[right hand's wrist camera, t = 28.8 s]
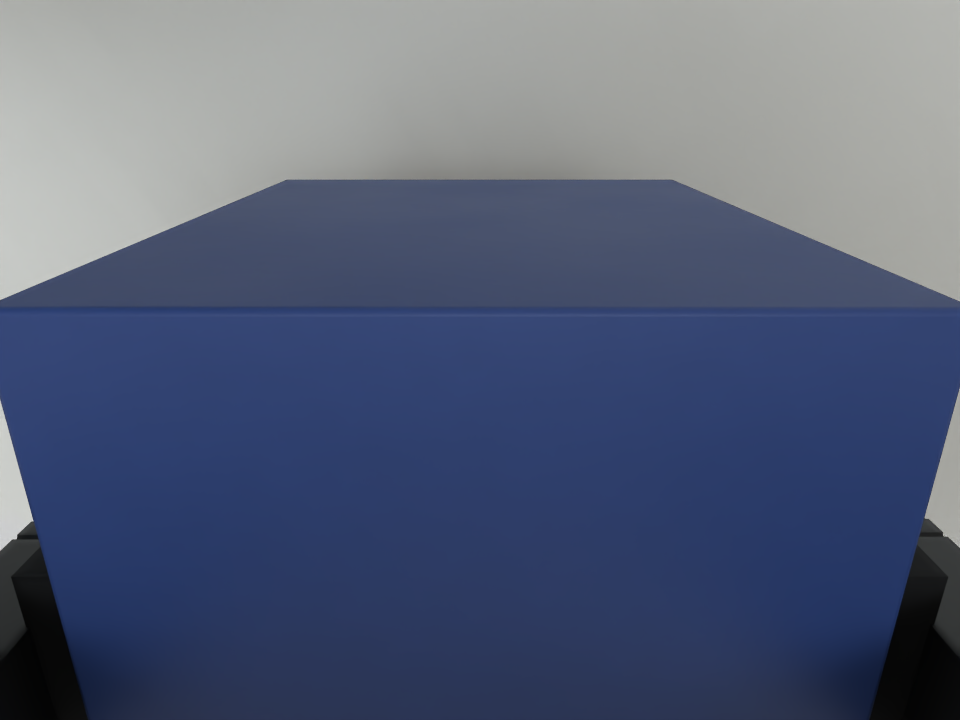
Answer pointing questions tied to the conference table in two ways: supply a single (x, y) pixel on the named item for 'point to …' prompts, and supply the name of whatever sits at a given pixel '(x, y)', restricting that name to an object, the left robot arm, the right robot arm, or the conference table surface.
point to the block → (478, 457)
